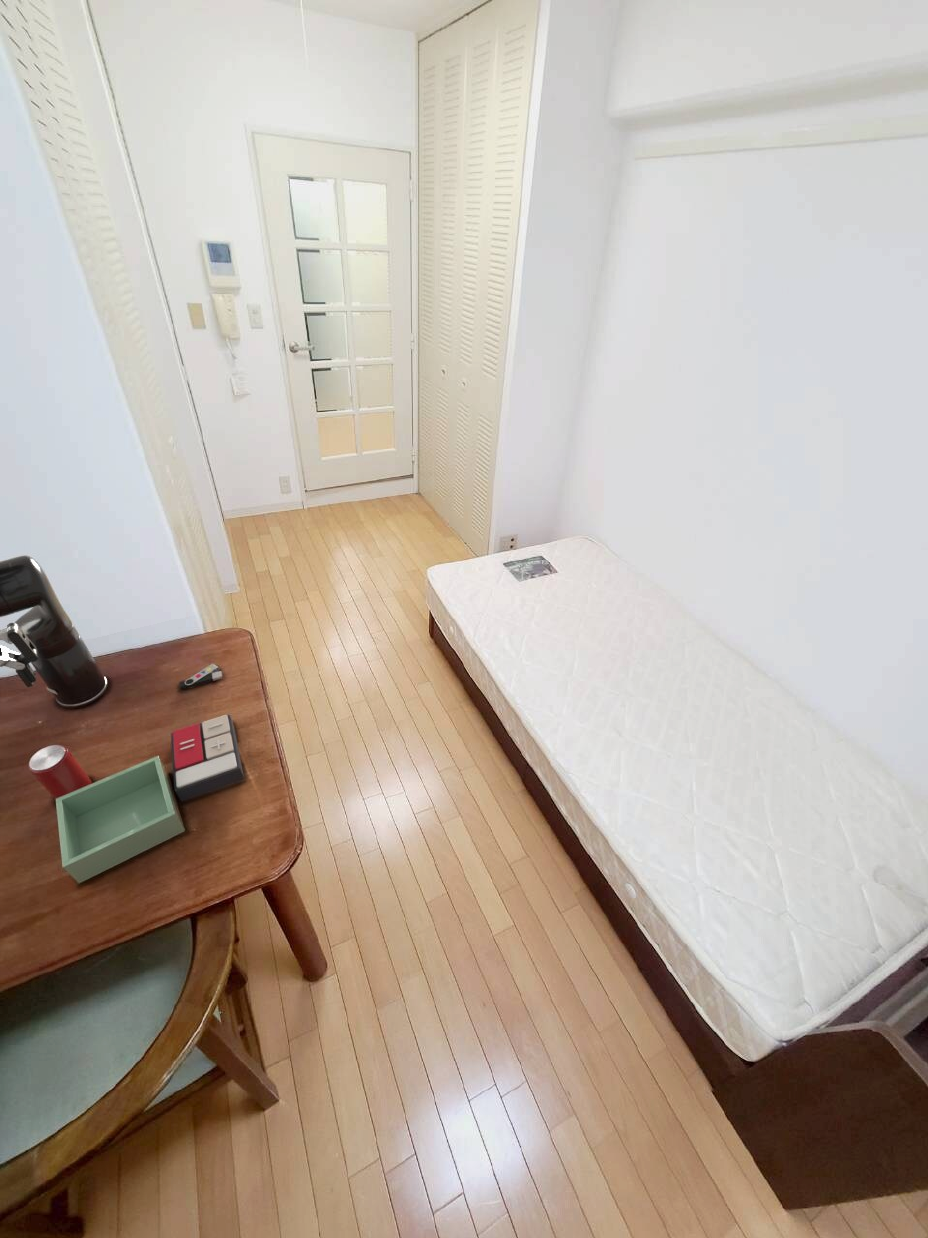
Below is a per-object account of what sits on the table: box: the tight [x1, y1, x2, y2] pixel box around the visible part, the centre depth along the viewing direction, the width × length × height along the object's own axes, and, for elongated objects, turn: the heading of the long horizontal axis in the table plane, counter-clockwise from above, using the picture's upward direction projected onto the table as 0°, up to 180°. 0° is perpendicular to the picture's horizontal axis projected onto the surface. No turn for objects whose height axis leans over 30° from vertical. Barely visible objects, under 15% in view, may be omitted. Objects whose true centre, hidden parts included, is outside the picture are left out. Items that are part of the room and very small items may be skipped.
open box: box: [55, 755, 186, 884], centre depth 86 cm, size 14×16×6 cm
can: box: [27, 744, 93, 801], centre depth 89 cm, size 6×6×10 cm
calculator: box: [170, 714, 245, 802], centre depth 97 cm, size 11×4×15 cm
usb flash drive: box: [178, 663, 223, 691], centre depth 114 cm, size 9×5×1 cm, turn 117°
